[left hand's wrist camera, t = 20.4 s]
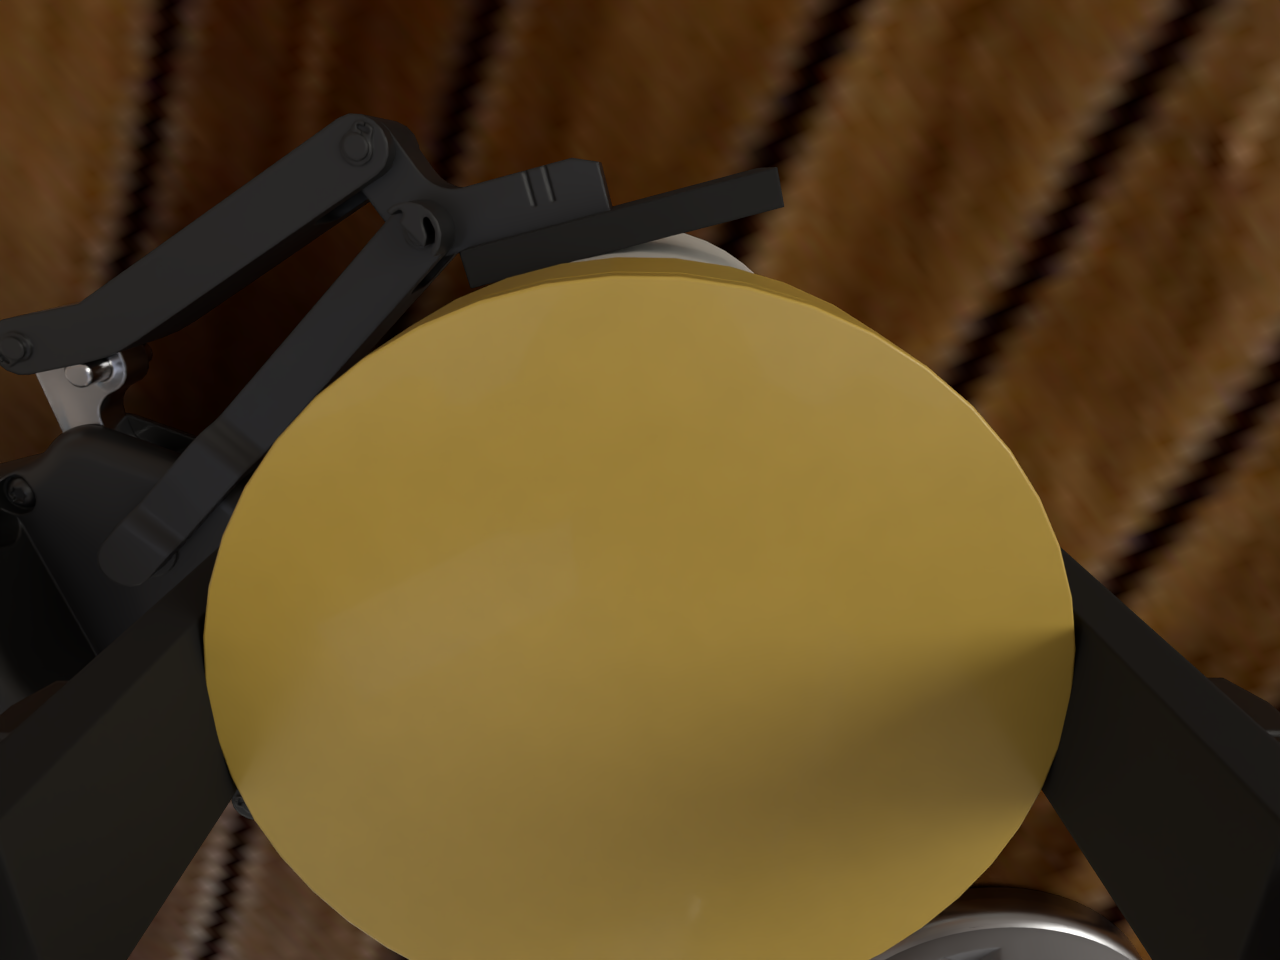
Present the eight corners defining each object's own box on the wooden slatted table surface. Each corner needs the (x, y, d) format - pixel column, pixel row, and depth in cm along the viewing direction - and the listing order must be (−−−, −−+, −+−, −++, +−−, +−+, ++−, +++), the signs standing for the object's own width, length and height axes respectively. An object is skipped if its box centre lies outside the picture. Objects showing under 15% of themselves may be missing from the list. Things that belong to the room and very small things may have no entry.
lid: (237, 220, 10) (145, 232, 8) (1098, 292, 11) (1199, 319, 9) (297, 884, 14) (244, 995, 12) (924, 922, 15) (967, 1035, 13)
